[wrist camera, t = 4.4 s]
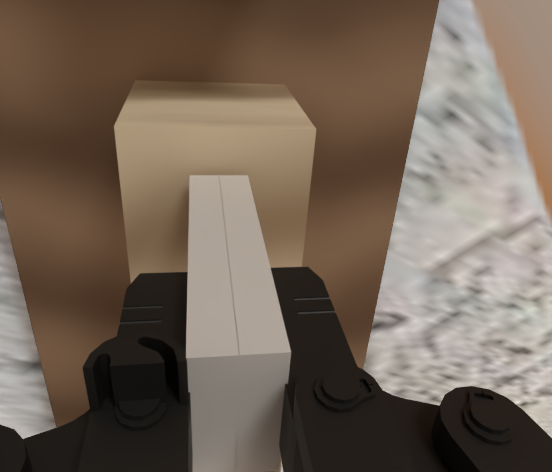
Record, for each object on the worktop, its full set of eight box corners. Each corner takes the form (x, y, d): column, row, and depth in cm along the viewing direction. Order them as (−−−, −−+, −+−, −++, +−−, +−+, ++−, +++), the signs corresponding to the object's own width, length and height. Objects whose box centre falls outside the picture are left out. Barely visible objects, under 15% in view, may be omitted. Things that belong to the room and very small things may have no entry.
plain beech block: (135, 79, 16) (113, 125, 12) (284, 84, 17) (316, 129, 12) (146, 214, 18) (132, 293, 14) (276, 213, 19) (299, 287, 15)
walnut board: (-173, -696, 10) (-252, -837, 8) (510, -525, 12) (564, -605, 10) (74, 434, 26) (66, 467, 25) (338, 413, 29) (347, 441, 27)
